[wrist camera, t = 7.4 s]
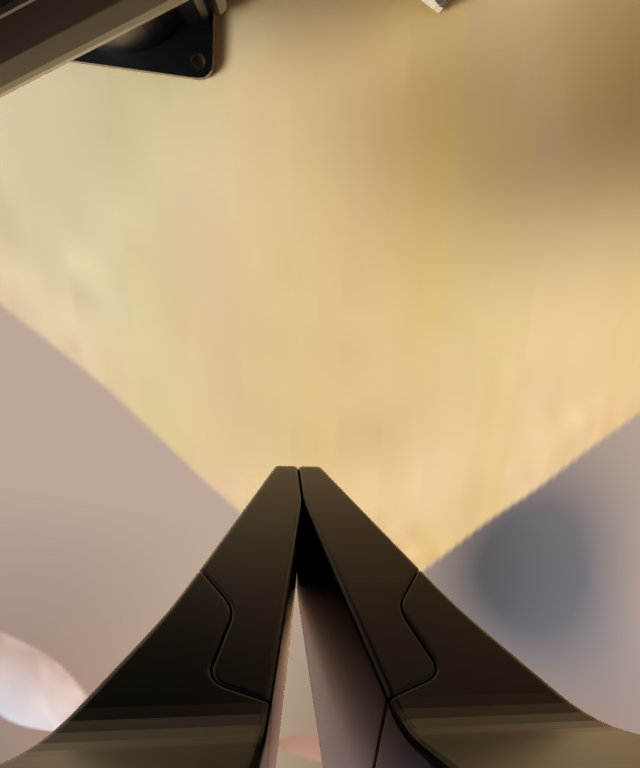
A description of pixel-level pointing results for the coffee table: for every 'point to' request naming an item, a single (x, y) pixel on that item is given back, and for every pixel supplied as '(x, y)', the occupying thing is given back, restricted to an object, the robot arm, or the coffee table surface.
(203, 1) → the robot arm
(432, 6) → the candy bar box
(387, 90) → the coffee table surface
